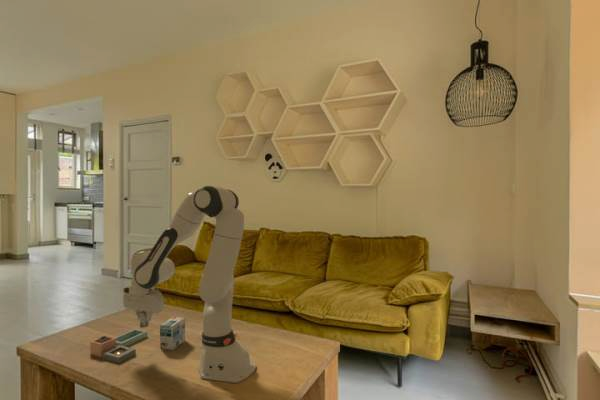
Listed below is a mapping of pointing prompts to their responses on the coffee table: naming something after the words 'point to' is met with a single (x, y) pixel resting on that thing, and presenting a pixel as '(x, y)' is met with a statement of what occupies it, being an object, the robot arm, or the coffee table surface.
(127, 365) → the coffee table surface
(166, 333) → the light bulb box
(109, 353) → the gray square frame
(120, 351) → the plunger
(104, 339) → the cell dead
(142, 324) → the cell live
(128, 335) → the trough
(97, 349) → the open cubby frame
